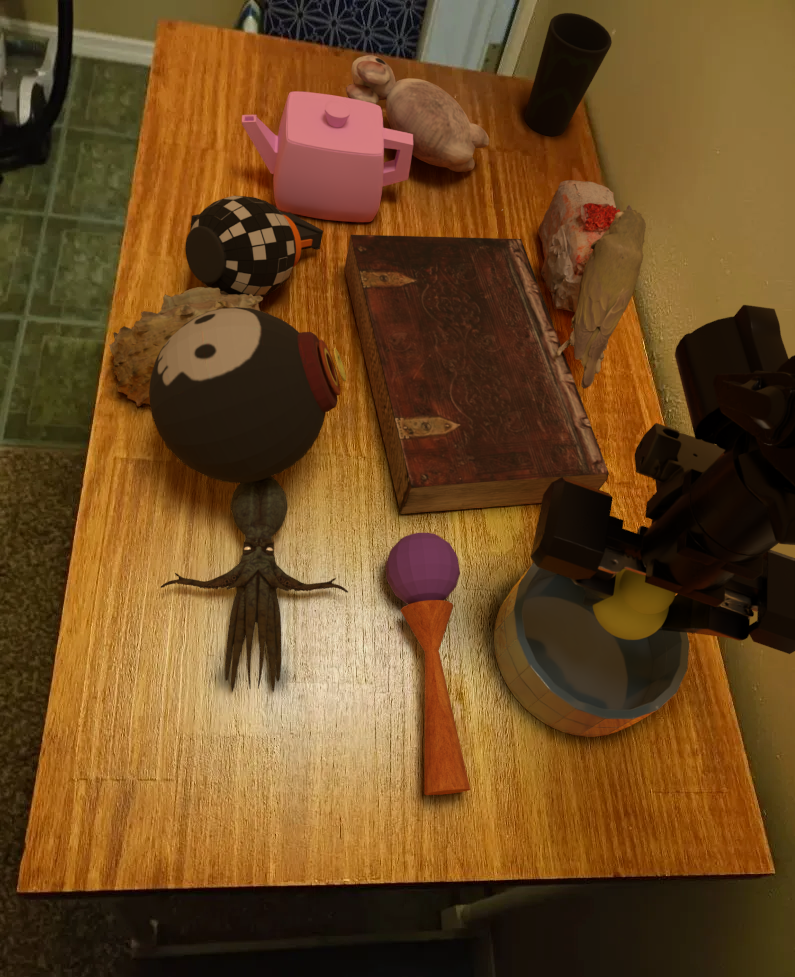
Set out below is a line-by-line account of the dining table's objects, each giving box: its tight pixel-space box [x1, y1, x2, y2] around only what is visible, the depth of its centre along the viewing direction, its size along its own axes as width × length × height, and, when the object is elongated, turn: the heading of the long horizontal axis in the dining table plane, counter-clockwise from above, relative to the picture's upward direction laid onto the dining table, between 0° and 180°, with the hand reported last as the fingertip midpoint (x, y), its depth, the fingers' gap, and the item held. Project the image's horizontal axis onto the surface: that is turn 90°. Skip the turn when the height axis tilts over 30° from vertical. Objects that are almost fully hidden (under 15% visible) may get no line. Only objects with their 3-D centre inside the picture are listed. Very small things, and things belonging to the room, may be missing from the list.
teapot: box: [241, 90, 413, 223], centre depth 86 cm, size 18×10×10 cm, turn 92°
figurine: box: [160, 476, 349, 693], centre depth 64 cm, size 14×6×18 cm
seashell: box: [108, 286, 264, 407], centre depth 72 cm, size 11×14×10 cm
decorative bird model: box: [556, 204, 647, 390], centre depth 78 cm, size 5×20×5 cm, turn 164°
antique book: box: [344, 234, 610, 515], centre depth 78 cm, size 29×19×5 cm, turn 12°
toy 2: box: [345, 54, 504, 212], centre depth 91 cm, size 28×8×15 cm
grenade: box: [184, 195, 324, 298], centre depth 79 cm, size 11×10×15 cm
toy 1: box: [149, 307, 347, 484], centre depth 63 cm, size 14×14×15 cm
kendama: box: [384, 532, 471, 796], centre depth 63 cm, size 6×6×20 cm
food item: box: [537, 179, 622, 314], centre depth 87 cm, size 14×8×10 cm, turn 5°
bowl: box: [493, 562, 690, 738], centre depth 66 cm, size 14×14×6 cm
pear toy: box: [593, 569, 677, 640], centre depth 58 cm, size 5×5×9 cm
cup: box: [524, 12, 613, 137], centre depth 101 cm, size 8×8×12 cm
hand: (620, 611), depth 61 cm, fingers closed on pear toy, 5 cm apart
